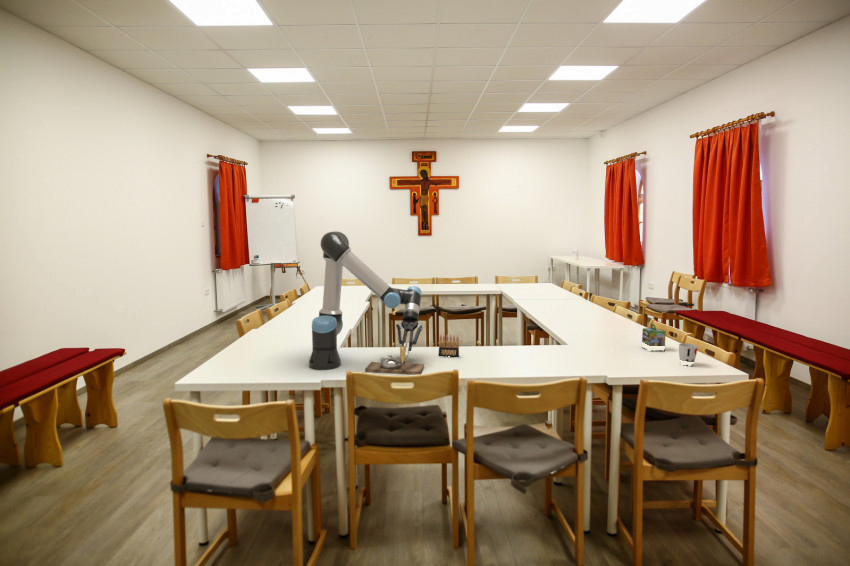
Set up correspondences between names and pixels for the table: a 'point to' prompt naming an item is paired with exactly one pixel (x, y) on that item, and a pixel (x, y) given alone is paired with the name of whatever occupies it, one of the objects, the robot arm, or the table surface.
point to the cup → (687, 352)
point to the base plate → (403, 369)
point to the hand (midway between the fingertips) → (405, 356)
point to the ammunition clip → (449, 346)
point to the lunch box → (653, 336)
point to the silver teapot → (393, 360)
